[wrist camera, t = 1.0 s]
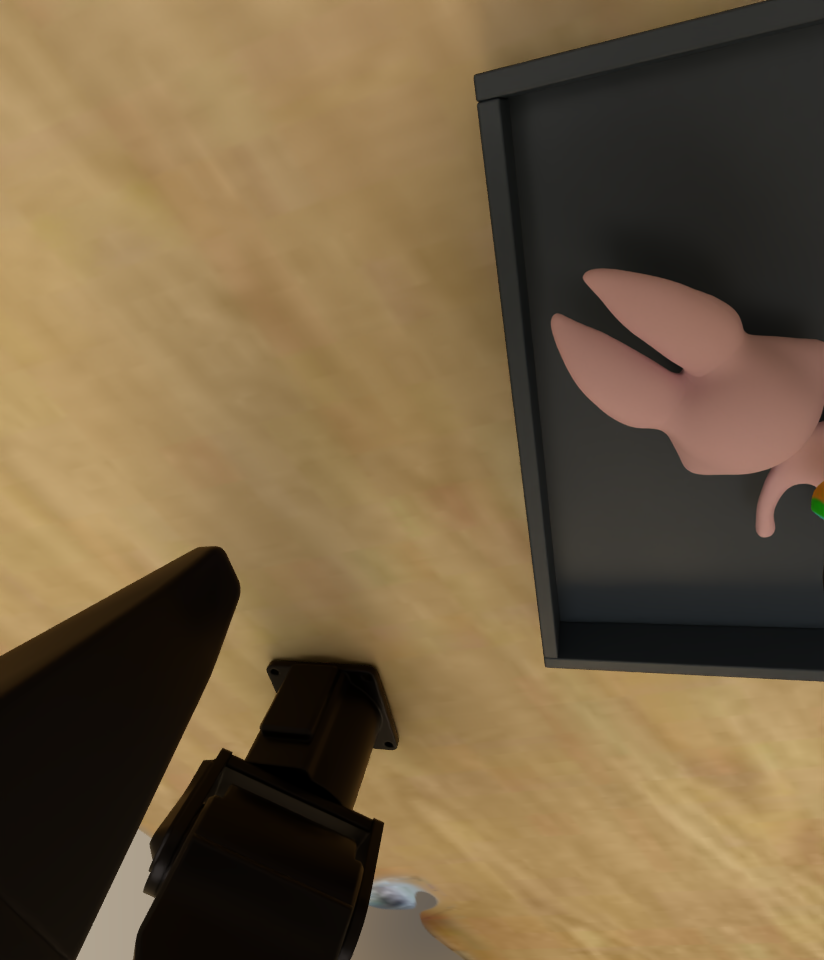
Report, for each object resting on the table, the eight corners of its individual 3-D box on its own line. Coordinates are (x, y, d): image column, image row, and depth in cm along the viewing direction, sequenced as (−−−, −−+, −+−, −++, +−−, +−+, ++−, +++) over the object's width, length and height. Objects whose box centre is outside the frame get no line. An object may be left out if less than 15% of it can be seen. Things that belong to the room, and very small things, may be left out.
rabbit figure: (993, 430, 20) (634, 176, 16) (1156, 558, 15) (695, 236, 11) (826, 546, 23) (502, 357, 20) (914, 680, 18) (508, 460, 15)
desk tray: (955, 635, 23) (993, 690, 21) (547, 624, 27) (545, 668, 25) (1205, -102, 12) (1333, -144, 10) (486, 78, 17) (472, 74, 15)
